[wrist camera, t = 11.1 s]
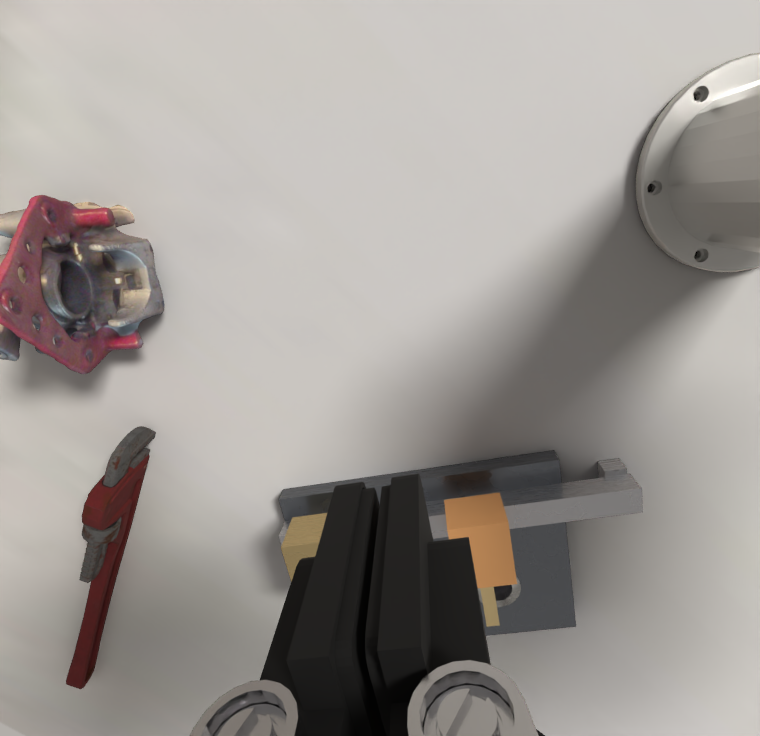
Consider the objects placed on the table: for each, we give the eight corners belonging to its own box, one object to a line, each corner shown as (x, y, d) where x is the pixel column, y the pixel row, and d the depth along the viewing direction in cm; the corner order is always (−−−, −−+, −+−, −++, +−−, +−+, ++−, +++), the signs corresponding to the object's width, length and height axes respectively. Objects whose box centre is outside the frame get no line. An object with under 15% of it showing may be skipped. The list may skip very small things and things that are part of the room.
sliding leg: (496, 480, 37) (508, 522, 32) (513, 597, 40) (526, 651, 36) (442, 487, 38) (447, 530, 33) (463, 603, 41) (470, 656, 36)
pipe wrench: (77, 661, 50) (137, 411, 40) (101, 670, 50) (167, 422, 40) (29, 727, 44) (86, 451, 34) (57, 737, 44) (122, 464, 34)
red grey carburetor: (200, 356, 35) (0, 414, 27) (133, 339, 42) (-43, 381, 34) (167, 187, 32) (-75, 193, 23) (100, 199, 39) (-105, 207, 30)
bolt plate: (620, 440, 38) (664, 491, 31) (630, 606, 43) (670, 680, 36) (283, 489, 41) (258, 544, 35) (327, 638, 46) (312, 711, 39)
